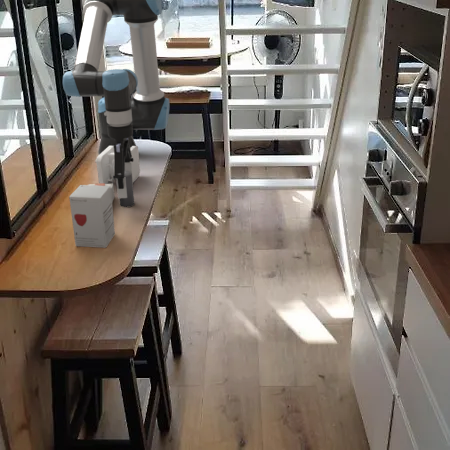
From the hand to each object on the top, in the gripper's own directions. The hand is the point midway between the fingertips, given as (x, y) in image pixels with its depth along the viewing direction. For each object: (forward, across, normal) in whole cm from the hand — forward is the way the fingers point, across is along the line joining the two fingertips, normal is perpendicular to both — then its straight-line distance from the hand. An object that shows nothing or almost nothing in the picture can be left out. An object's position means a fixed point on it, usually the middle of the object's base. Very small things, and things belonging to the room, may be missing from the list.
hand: (125, 189), depth 191 cm
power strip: (+5, +2, -9) cm, 11 cm away
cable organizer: (+5, -20, -5) cm, 21 cm away
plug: (+5, 0, 0) cm, 5 cm away
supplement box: (+6, +25, -5) cm, 26 cm away
